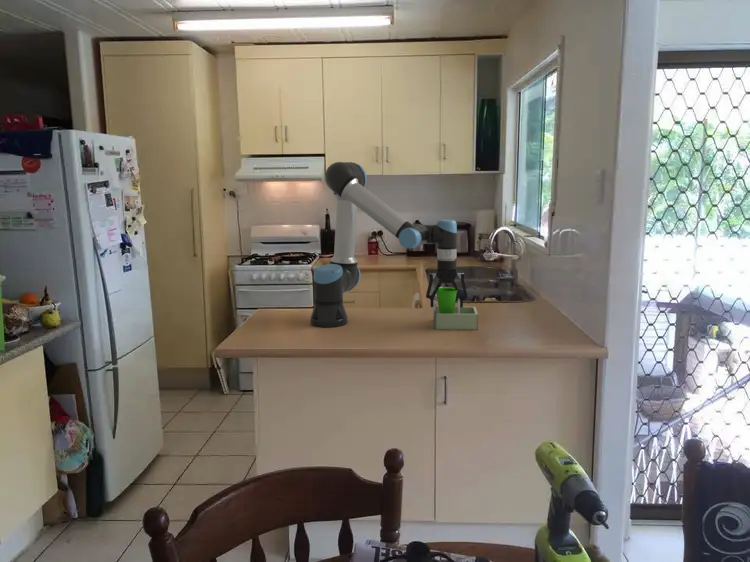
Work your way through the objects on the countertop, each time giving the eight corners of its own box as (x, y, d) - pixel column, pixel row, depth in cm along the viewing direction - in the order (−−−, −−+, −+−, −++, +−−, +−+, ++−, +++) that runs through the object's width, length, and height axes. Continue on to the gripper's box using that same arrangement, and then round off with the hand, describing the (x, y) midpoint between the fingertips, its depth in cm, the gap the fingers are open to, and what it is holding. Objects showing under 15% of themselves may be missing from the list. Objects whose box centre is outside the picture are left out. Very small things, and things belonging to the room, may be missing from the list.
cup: (457, 319, 230) (457, 291, 228) (434, 318, 232) (434, 291, 230) (458, 314, 239) (458, 287, 237) (436, 313, 240) (436, 286, 239)
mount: (433, 329, 230) (434, 311, 228) (433, 320, 243) (433, 303, 242) (477, 329, 228) (478, 311, 227) (474, 320, 242) (475, 303, 240)
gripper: (419, 260, 228) (419, 317, 232) (475, 260, 227) (474, 317, 231) (419, 258, 236) (419, 312, 240) (474, 258, 234) (473, 313, 238)
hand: (446, 315), depth 235 cm, fingers closed on cup, 9 cm apart
